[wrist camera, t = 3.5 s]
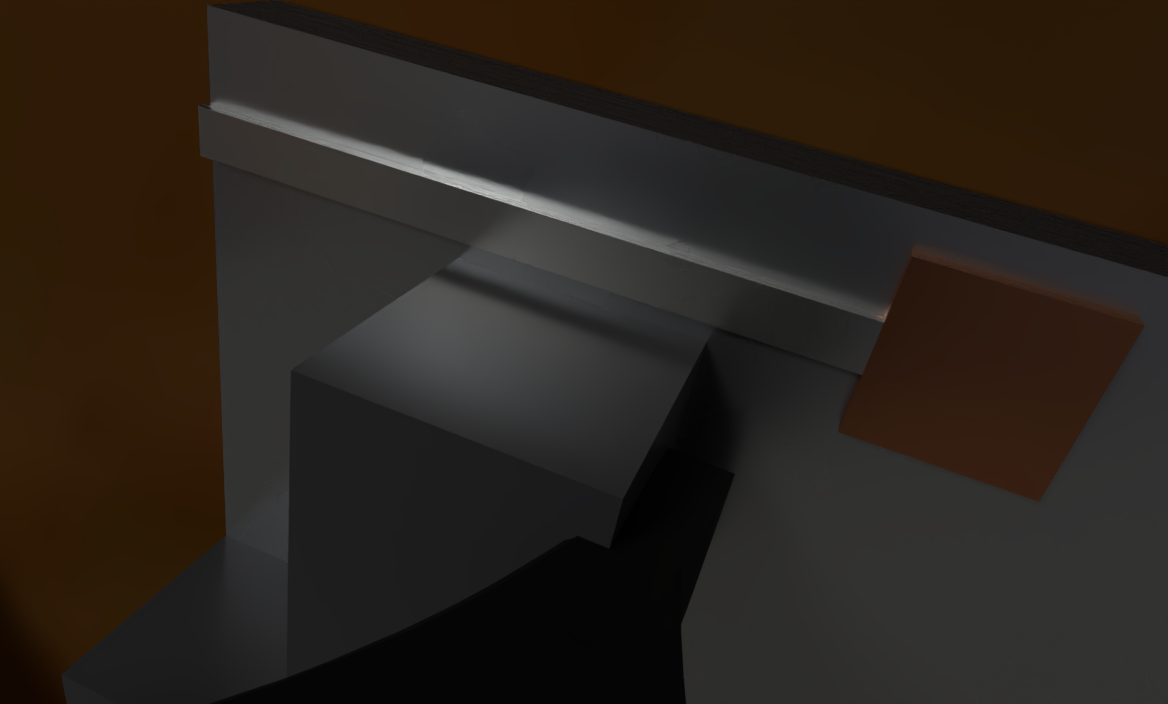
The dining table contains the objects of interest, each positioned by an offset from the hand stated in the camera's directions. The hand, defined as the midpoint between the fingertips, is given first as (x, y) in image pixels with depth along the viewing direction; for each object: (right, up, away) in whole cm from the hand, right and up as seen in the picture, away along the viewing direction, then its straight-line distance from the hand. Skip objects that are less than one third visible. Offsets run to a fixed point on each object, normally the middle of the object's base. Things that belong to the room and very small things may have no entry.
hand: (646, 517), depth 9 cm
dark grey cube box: (-1, +1, +1) cm, 2 cm away
